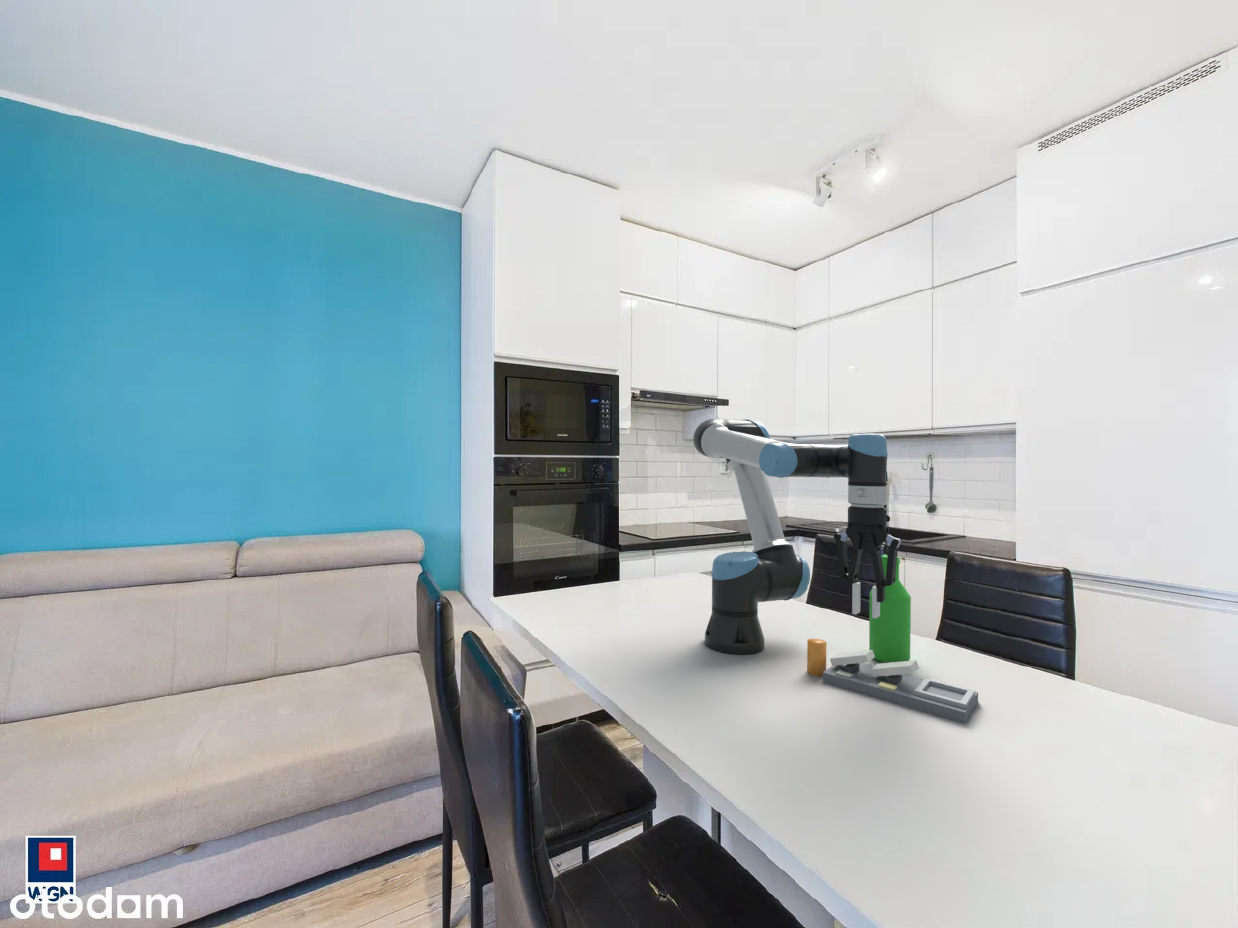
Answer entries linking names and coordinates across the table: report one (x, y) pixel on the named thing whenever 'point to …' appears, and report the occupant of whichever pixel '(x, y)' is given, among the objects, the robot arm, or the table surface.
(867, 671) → the panel
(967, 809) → the table surface
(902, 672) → the breaker
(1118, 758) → the table surface
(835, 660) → the block
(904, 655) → the bottle
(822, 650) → the pin
